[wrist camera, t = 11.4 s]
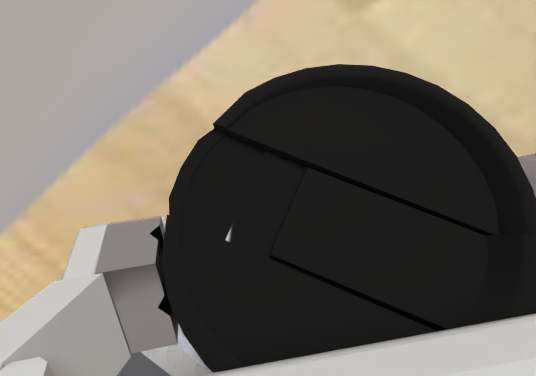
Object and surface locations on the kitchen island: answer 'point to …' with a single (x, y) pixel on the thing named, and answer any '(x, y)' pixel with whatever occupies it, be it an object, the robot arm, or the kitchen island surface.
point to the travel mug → (345, 219)
